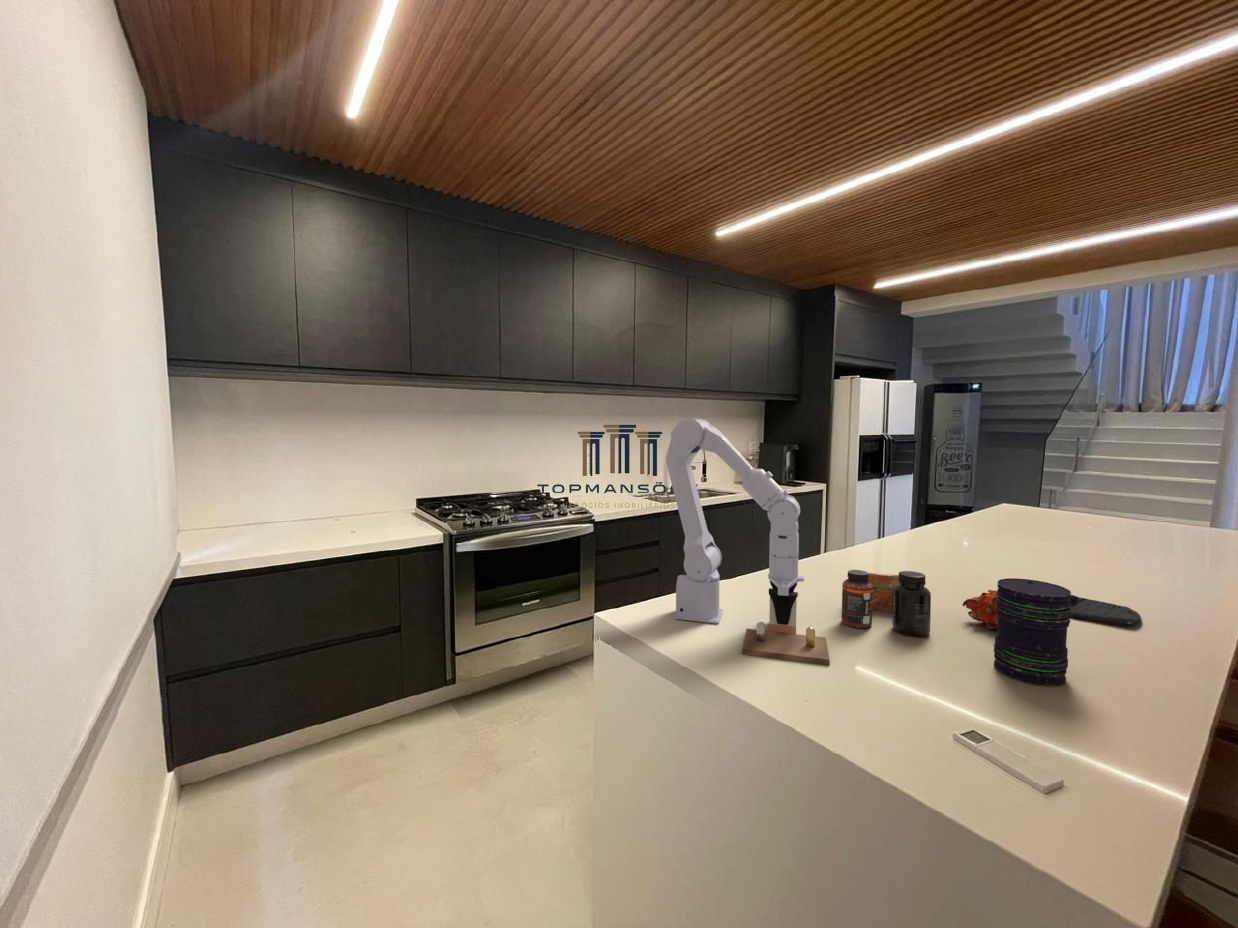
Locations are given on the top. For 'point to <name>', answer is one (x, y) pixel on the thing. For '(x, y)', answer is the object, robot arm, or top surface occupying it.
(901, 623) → the supplement bottle
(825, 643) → the board
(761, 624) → the steel pin
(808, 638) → the brass pin
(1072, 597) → the dark slate chunk
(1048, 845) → the top surface
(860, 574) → the supplement bottle
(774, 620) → the sleeve
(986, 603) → the dragon fruit
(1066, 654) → the dark blue cylinder
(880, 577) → the tin
